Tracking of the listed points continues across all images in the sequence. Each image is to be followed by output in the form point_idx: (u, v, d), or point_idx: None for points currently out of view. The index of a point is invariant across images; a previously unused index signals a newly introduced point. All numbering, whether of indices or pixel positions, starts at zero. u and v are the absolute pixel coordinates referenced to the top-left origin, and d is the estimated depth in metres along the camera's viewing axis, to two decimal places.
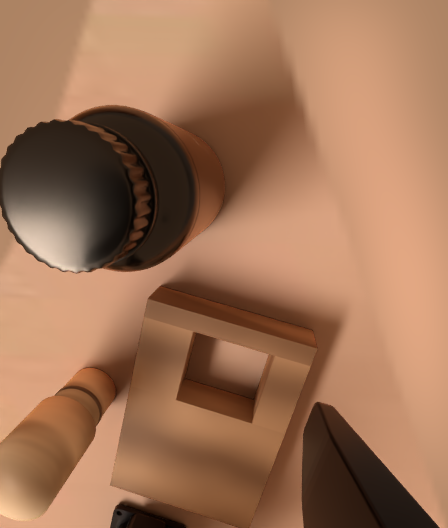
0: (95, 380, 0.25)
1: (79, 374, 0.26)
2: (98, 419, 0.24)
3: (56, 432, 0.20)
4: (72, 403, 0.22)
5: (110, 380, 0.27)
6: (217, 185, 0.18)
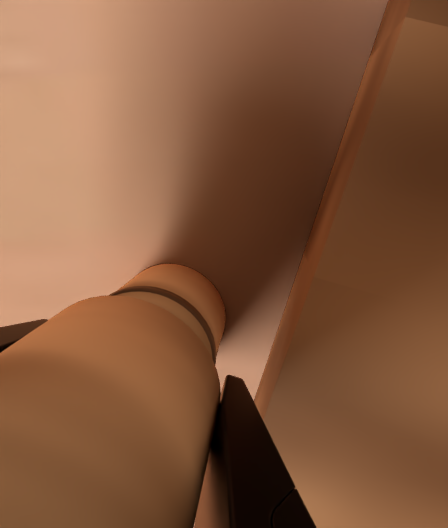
0: (190, 283, 0.10)
1: (145, 273, 0.10)
2: None
3: (130, 399, 0.05)
4: (158, 314, 0.07)
5: (216, 293, 0.11)
6: None
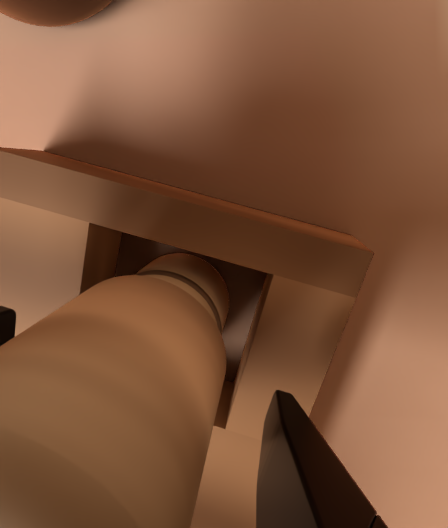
0: (198, 270, 0.11)
1: (157, 260, 0.12)
2: None
3: (156, 349, 0.06)
4: (173, 290, 0.08)
5: (221, 279, 0.12)
6: None
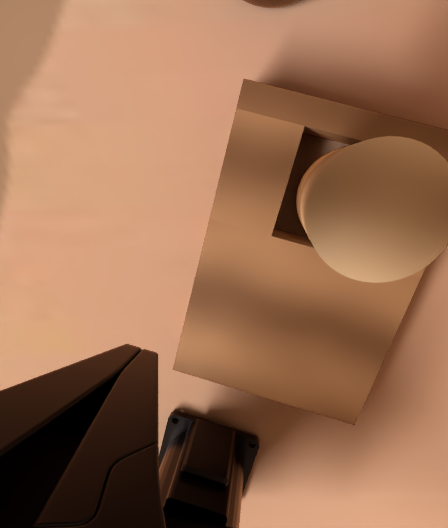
0: None
1: None
2: None
3: None
4: None
5: None
6: None
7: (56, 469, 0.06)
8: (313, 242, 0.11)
